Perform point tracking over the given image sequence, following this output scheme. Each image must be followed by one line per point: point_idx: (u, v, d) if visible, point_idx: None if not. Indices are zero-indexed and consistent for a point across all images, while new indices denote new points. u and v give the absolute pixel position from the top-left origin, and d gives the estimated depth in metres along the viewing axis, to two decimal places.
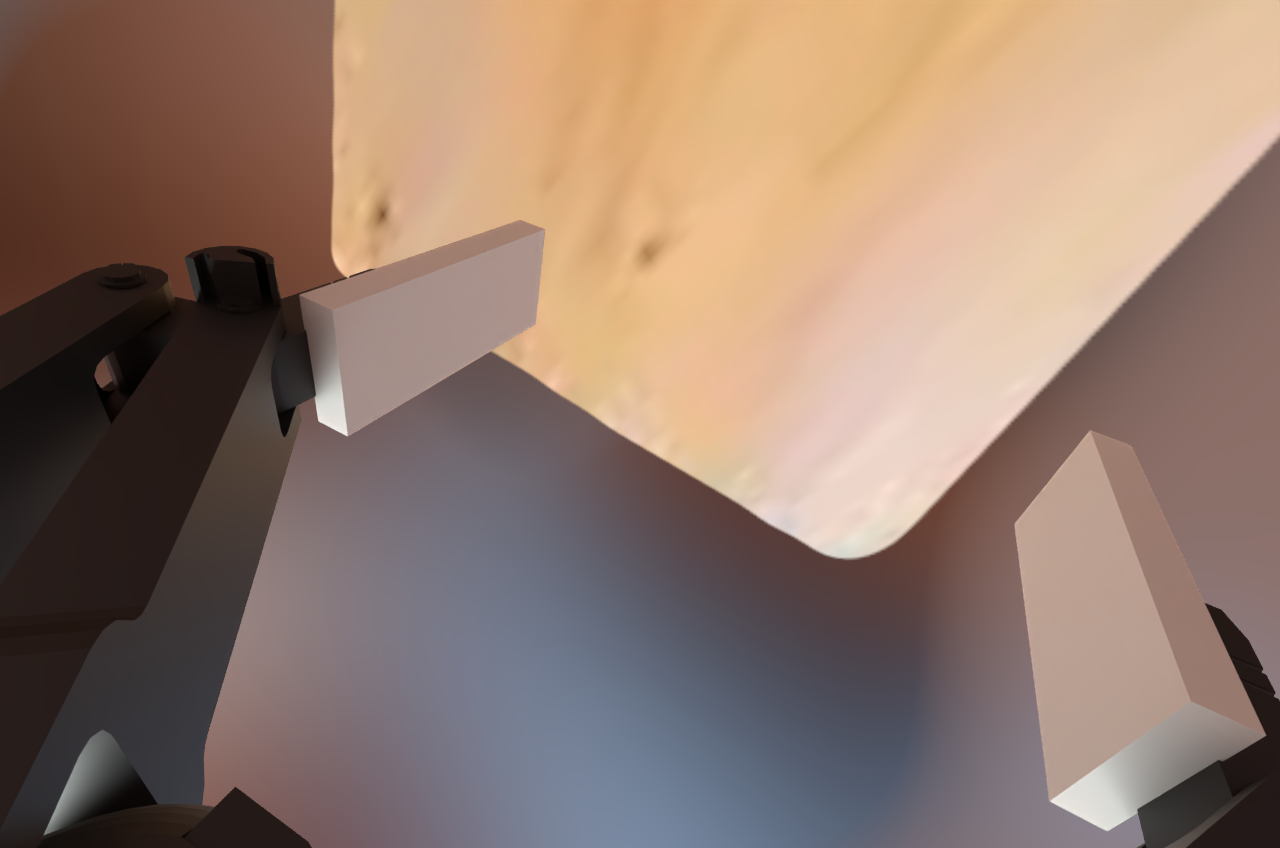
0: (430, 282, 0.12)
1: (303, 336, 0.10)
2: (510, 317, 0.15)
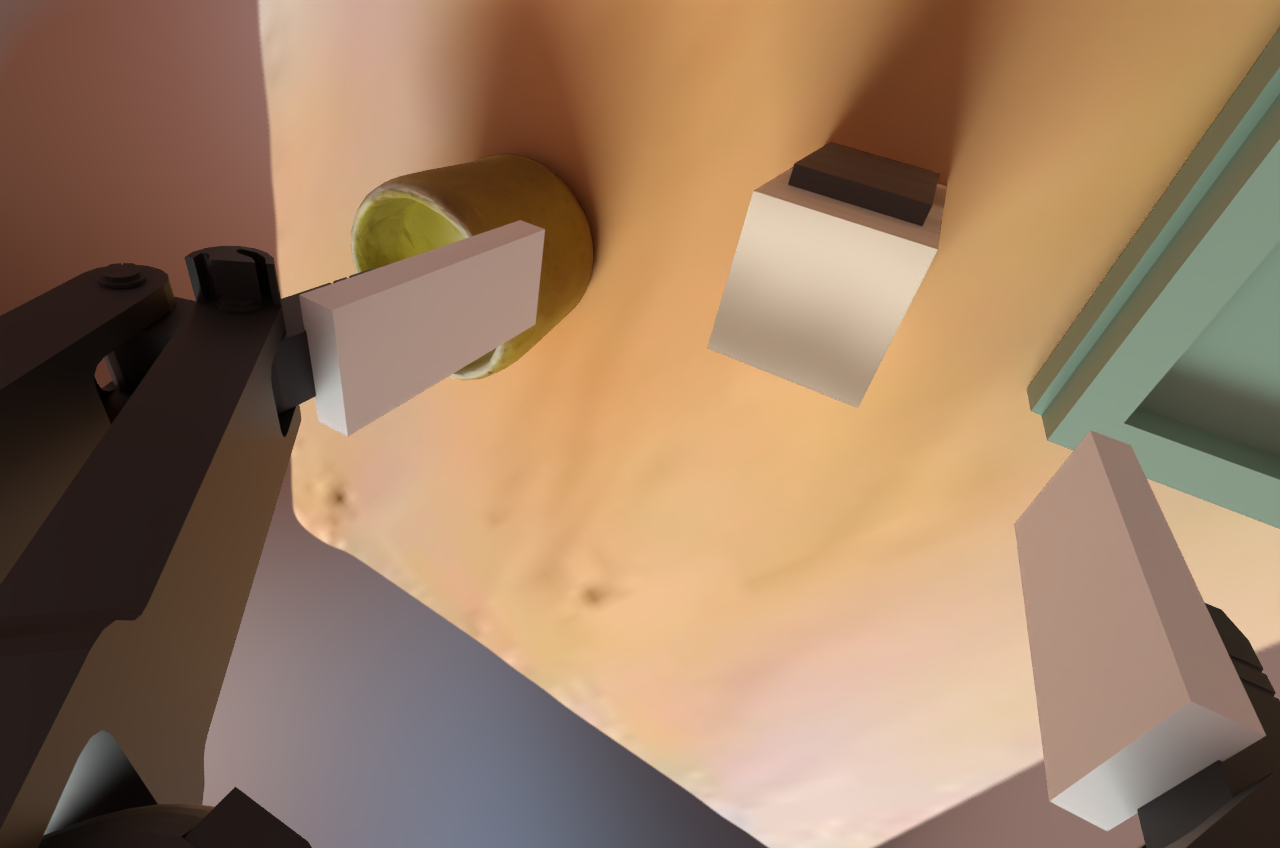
0: (430, 282, 0.12)
1: (303, 336, 0.10)
2: (510, 317, 0.15)
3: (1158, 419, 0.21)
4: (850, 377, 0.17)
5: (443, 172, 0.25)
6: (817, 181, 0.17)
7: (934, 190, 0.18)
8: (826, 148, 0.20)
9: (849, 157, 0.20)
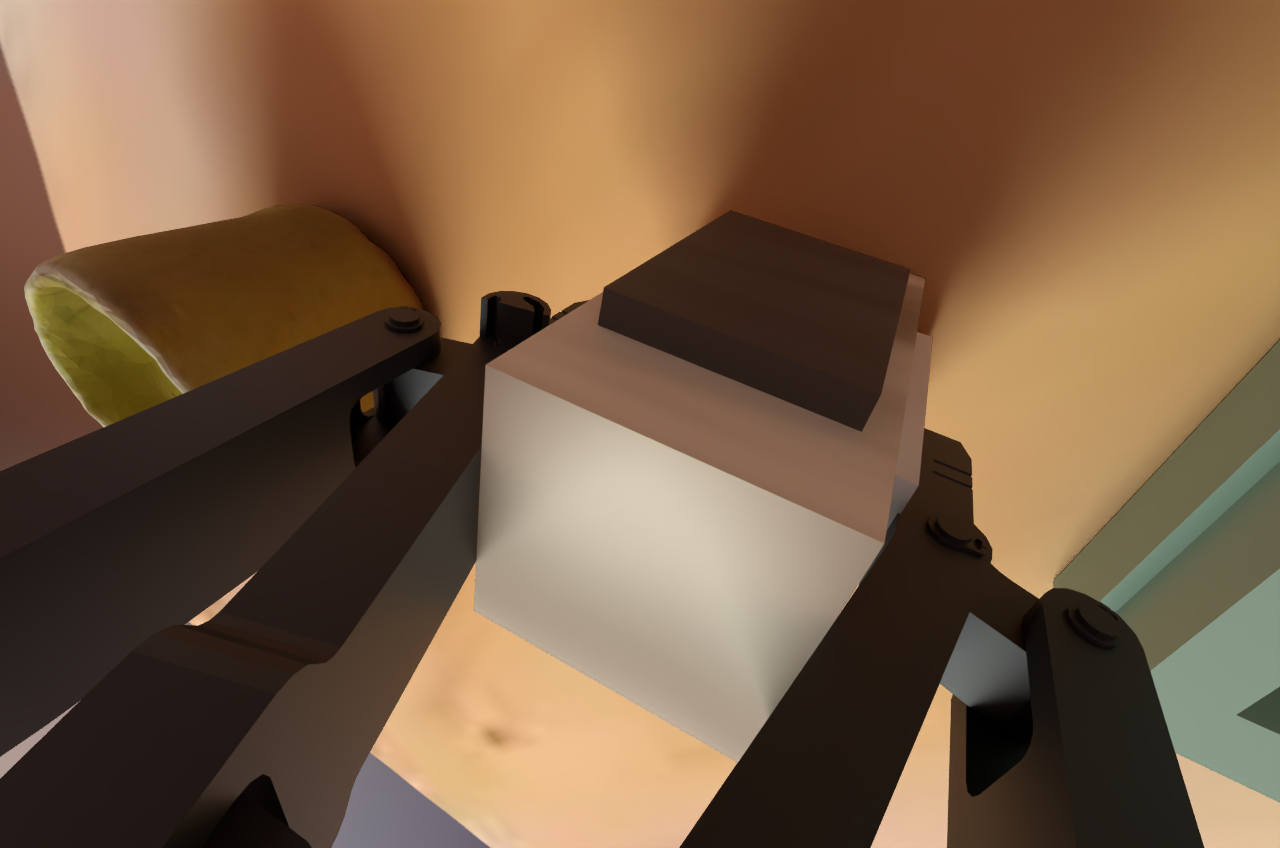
0: None
1: None
2: None
3: None
4: (722, 717, 0.09)
5: (146, 243, 0.16)
6: (650, 324, 0.08)
7: (893, 330, 0.09)
8: (712, 228, 0.12)
9: (747, 248, 0.11)
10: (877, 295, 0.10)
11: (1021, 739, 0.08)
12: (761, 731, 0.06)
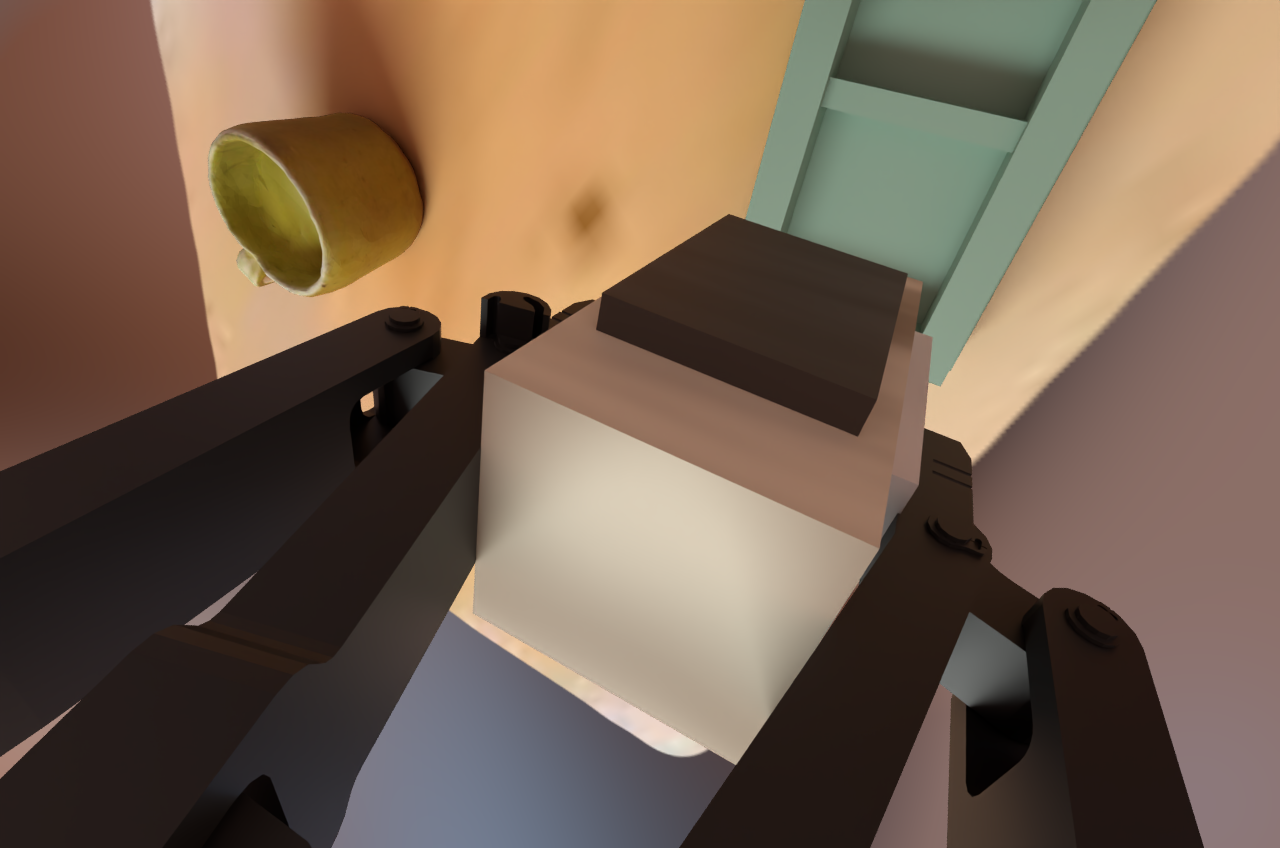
0: None
1: None
2: None
3: None
4: (720, 720, 0.09)
5: (272, 121, 0.31)
6: (648, 329, 0.08)
7: (890, 335, 0.09)
8: (710, 232, 0.12)
9: (745, 252, 0.11)
10: (874, 299, 0.10)
11: (1020, 738, 0.08)
12: (761, 731, 0.06)
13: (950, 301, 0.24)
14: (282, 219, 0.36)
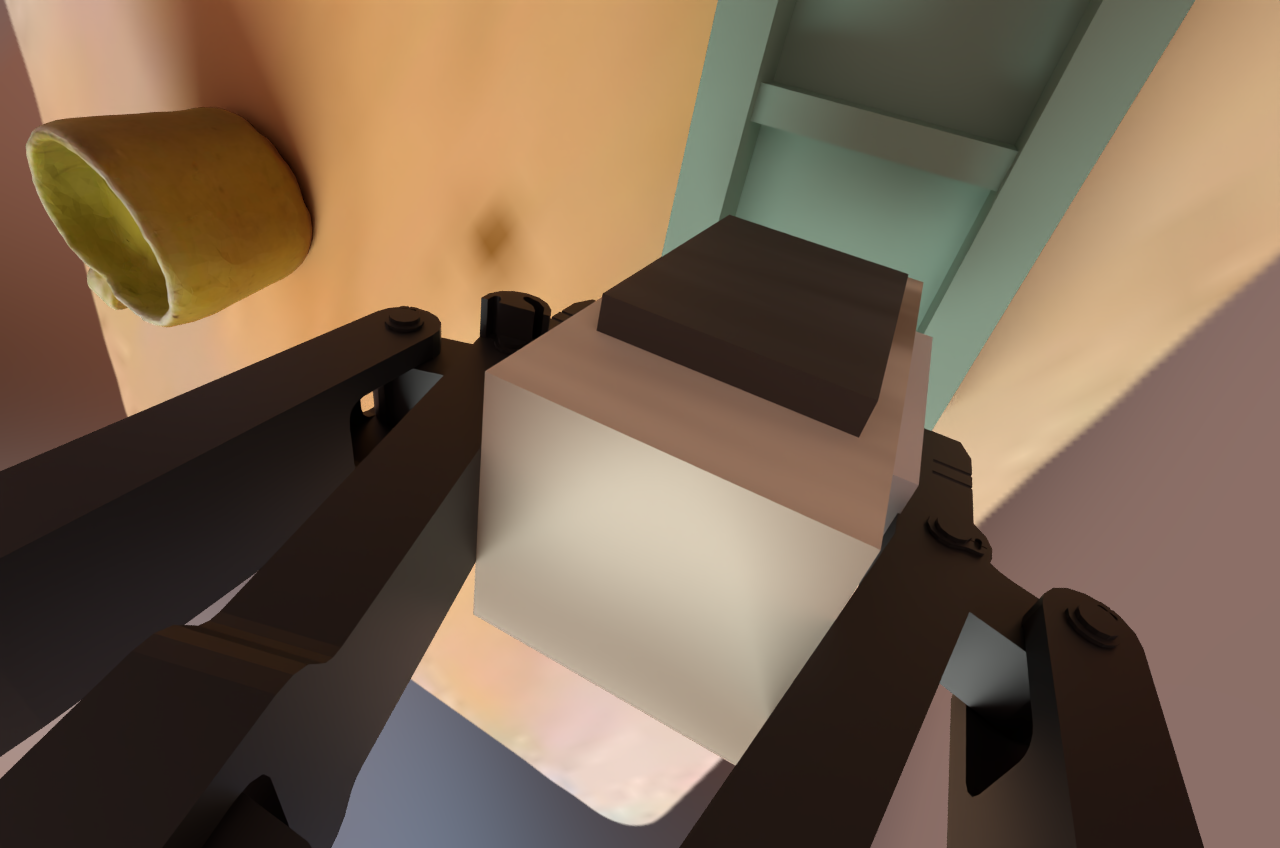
0: None
1: None
2: None
3: None
4: (720, 721, 0.09)
5: (101, 117, 0.26)
6: (648, 330, 0.08)
7: (891, 335, 0.09)
8: (711, 232, 0.12)
9: (746, 253, 0.11)
10: (875, 300, 0.10)
11: (1020, 738, 0.08)
12: (761, 731, 0.06)
13: None
14: (137, 233, 0.30)
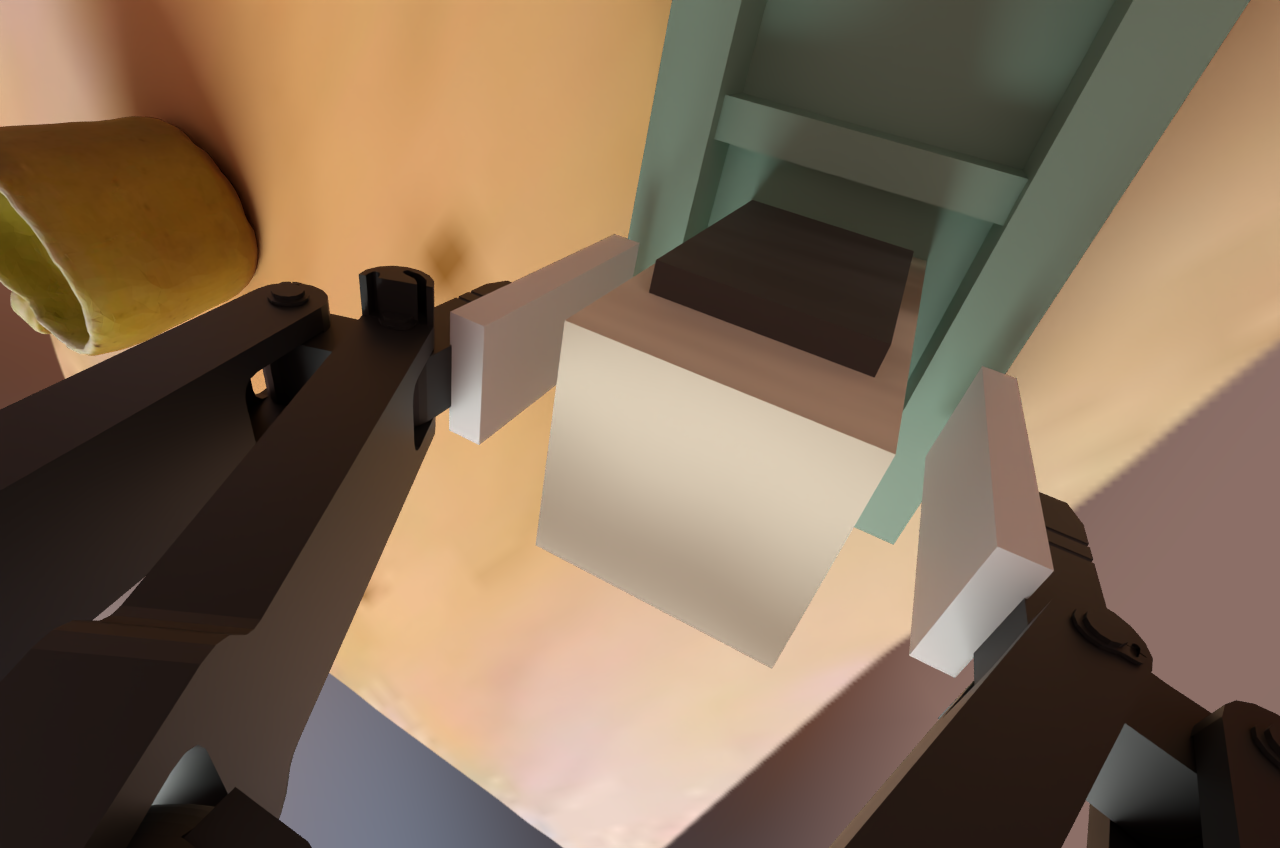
0: (553, 297, 0.12)
1: (449, 350, 0.11)
2: None
3: None
4: (756, 624, 0.10)
5: (10, 128, 0.23)
6: (695, 291, 0.10)
7: (900, 298, 0.11)
8: (738, 214, 0.13)
9: (770, 231, 0.13)
10: (885, 270, 0.12)
11: None
12: (868, 822, 0.05)
13: (906, 435, 0.16)
14: None
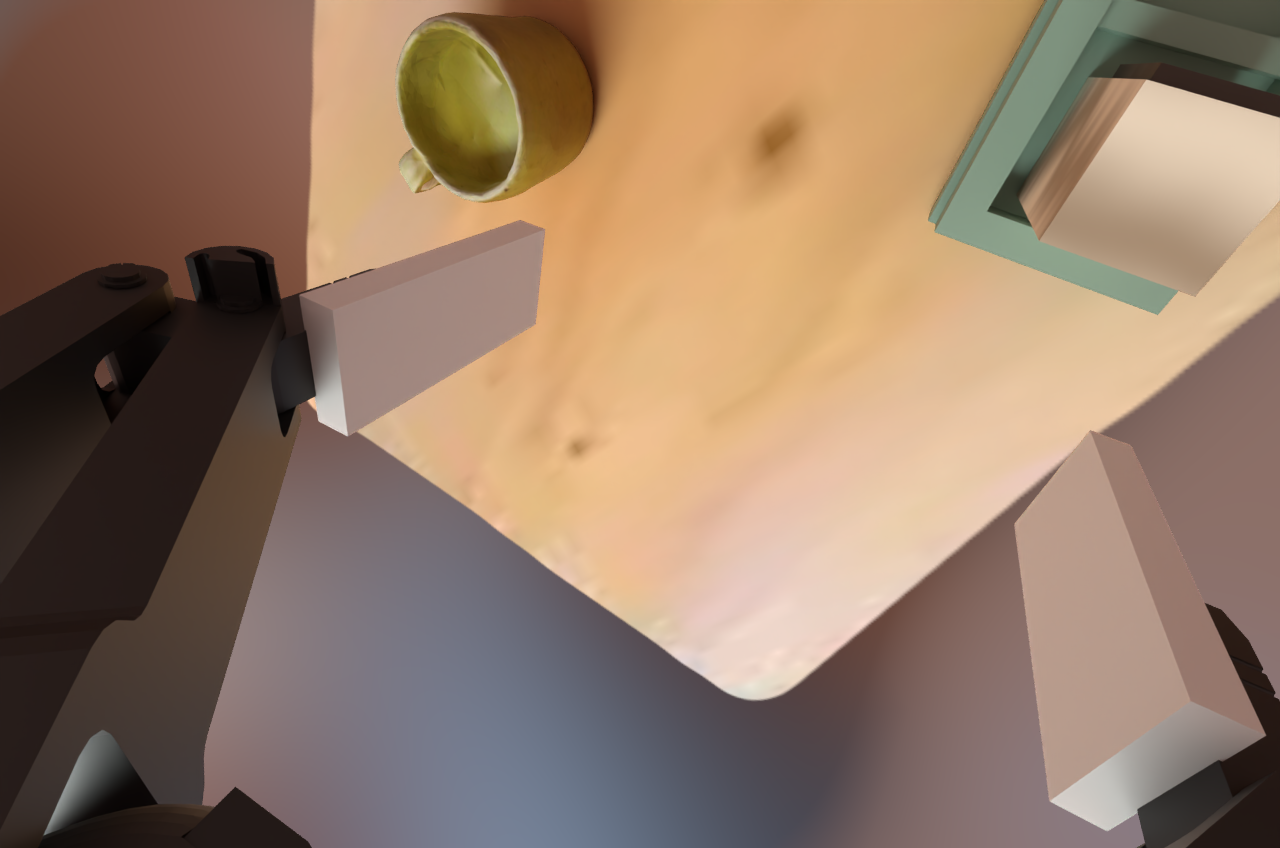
0: (430, 282, 0.12)
1: (303, 336, 0.10)
2: (510, 317, 0.15)
3: (1015, 216, 0.28)
4: (1196, 265, 0.19)
5: (477, 14, 0.31)
6: (1181, 80, 0.18)
7: None
8: None
9: None
10: None
11: None
12: None
13: None
14: (455, 122, 0.35)
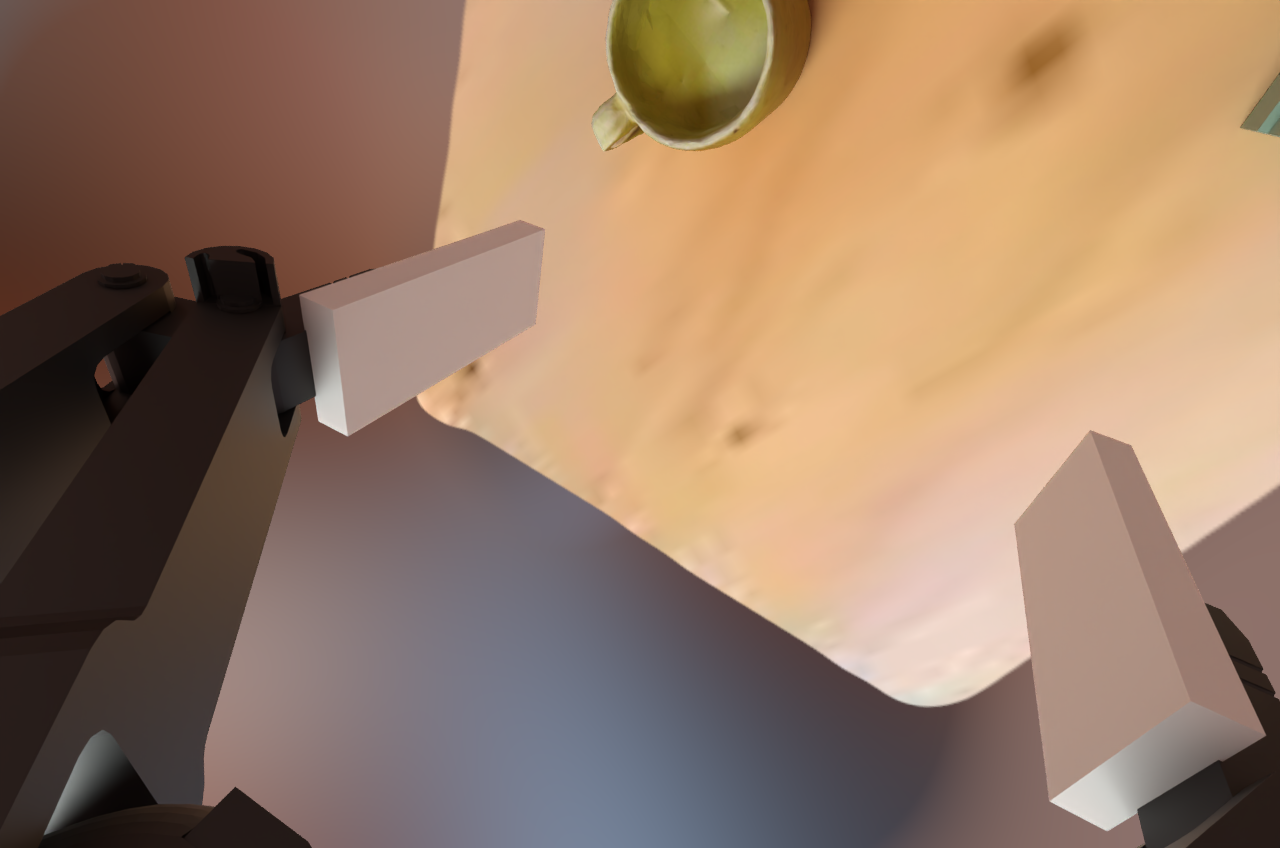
0: (430, 282, 0.12)
1: (303, 336, 0.10)
2: (510, 317, 0.15)
3: None
4: None
5: None
6: None
7: None
8: None
9: None
10: None
11: None
12: None
13: None
14: (662, 65, 0.32)
